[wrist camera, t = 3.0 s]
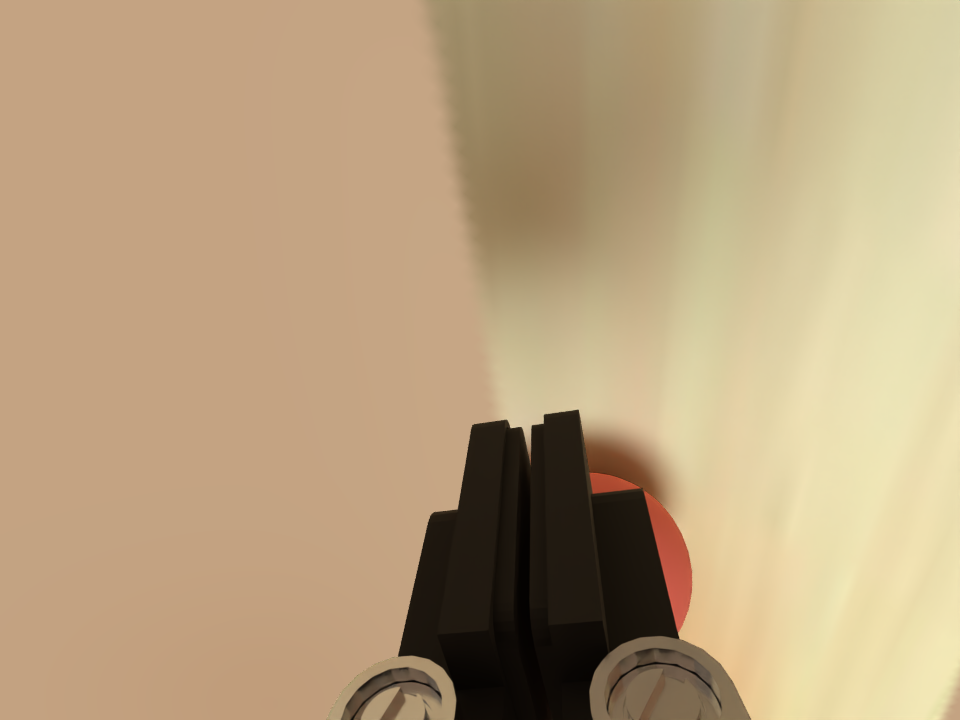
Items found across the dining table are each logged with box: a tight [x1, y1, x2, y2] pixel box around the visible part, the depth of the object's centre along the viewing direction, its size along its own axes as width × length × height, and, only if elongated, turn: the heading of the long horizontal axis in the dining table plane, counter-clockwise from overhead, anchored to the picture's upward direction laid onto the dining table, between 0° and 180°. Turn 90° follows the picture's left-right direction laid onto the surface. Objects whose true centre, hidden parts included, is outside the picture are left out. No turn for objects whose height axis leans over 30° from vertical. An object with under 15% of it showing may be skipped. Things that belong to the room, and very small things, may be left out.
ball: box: [590, 473, 692, 632], centre depth 20 cm, size 6×6×6 cm
